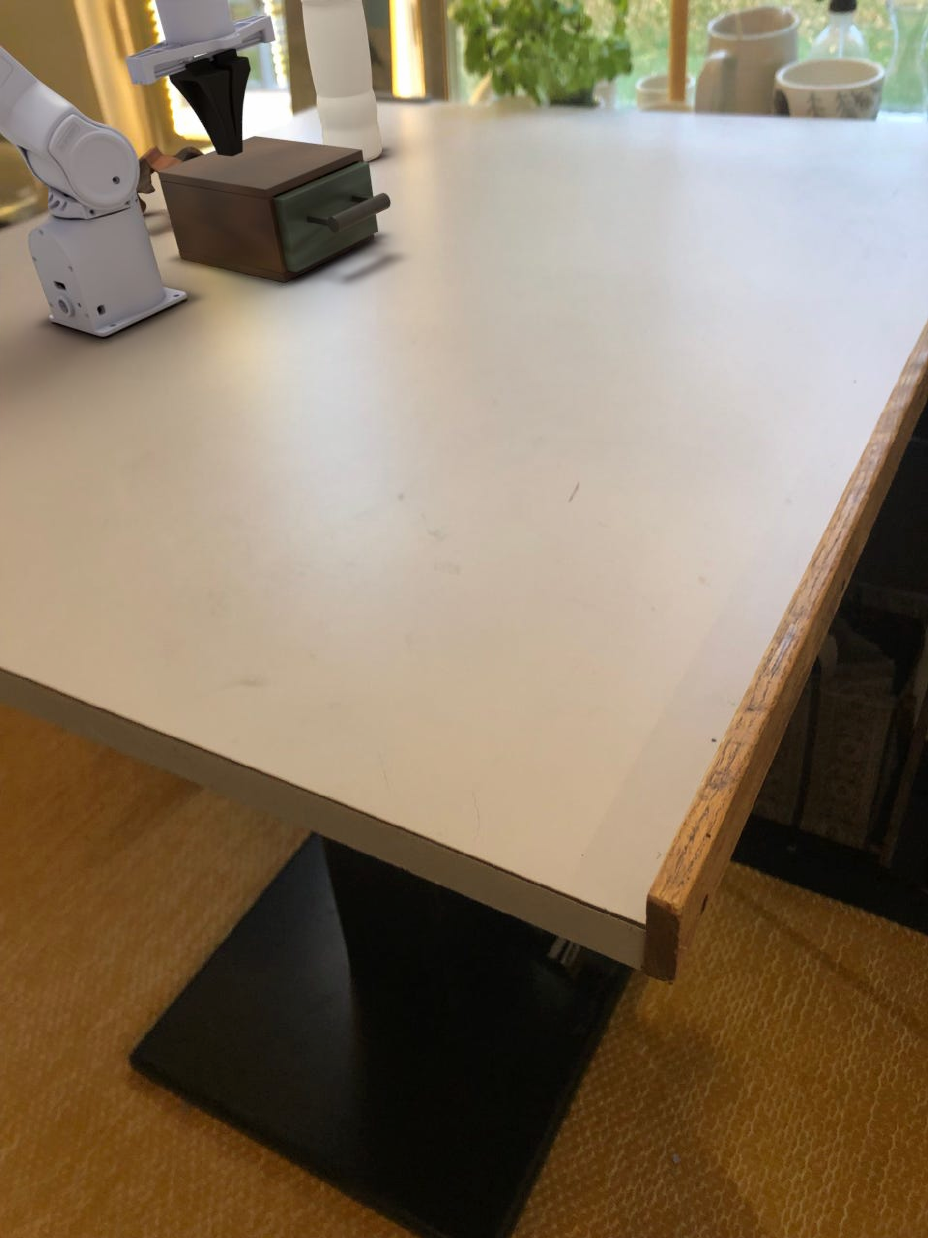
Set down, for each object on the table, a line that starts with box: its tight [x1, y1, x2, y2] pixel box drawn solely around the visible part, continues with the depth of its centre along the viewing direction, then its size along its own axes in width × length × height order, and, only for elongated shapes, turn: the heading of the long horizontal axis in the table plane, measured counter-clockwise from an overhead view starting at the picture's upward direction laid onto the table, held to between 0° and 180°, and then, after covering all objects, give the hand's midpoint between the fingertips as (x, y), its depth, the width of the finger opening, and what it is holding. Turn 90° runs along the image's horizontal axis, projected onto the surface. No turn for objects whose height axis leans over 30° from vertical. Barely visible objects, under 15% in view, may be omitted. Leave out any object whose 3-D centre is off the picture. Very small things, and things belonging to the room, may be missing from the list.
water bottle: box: [300, 0, 383, 163], centre depth 111 cm, size 7×7×25 cm
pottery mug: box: [136, 145, 205, 214], centre depth 105 cm, size 12×10×8 cm
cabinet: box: [157, 135, 375, 283], centre depth 94 cm, size 15×13×8 cm
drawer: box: [273, 162, 392, 272], centre depth 92 cm, size 18×11×6 cm, turn 53°
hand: (230, 153), depth 87 cm, fingers closed
